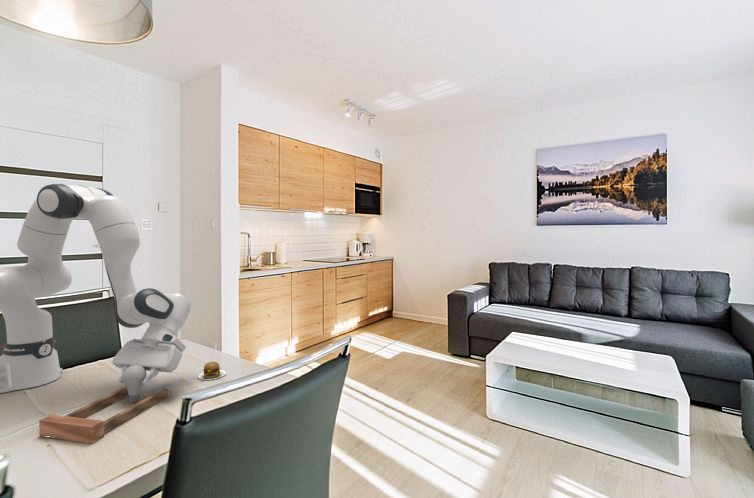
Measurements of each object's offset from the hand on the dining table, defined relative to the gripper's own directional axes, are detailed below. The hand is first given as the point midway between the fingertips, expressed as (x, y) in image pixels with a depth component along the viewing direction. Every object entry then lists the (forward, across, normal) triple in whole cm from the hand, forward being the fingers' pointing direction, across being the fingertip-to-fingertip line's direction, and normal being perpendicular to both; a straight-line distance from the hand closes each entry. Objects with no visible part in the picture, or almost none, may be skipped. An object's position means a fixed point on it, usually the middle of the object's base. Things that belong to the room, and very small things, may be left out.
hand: (132, 383), depth 107 cm
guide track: (+9, 0, -1) cm, 9 cm away
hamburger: (-11, +10, +21) cm, 26 cm away
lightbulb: (+4, 0, +5) cm, 6 cm away
